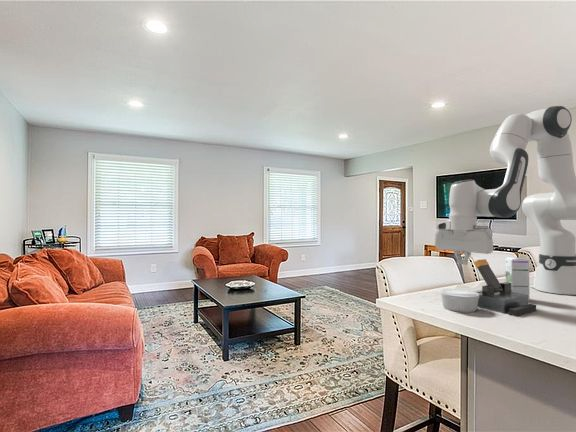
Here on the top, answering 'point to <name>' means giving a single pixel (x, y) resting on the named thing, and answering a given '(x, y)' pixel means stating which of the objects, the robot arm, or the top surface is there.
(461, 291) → the ramekin
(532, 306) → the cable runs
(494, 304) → the stepped grey base plate
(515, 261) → the syrup box
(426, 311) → the top surface
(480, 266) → the lever
